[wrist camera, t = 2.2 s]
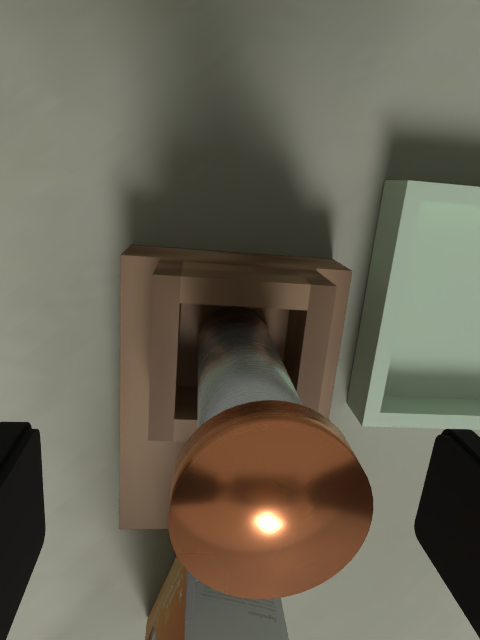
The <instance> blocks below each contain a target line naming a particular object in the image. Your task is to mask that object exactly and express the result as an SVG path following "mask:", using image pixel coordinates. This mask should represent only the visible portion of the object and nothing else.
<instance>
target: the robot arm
mask: <svg viewBox="0 0 480 640" xmlns="http://www.w3.org/2000/svg"><path fill="white" fill-rule="evenodd" d="M414 529H415V534H416V537H417V539H418V541H419V543H420V544H421V546H422V547H423V549H424V551H425V552H426V554H427V555H428V557H429V558H430V560H431V562H432V563H433V565H434V566H435V568H436V570H437V571H438V573H439V574H440V576H441V578H442V579H443V581H444V582H445V584H446V585H447V587H448V589H449V590H450V592H451V593H452V595H453V597H454V598H455V600H456V601H457V603H458V604H459V606H460V608H461V609H462V611H463V612H464V614H465V616H466V617H467V619H468V620H469V622H470V624H471V625H472V627H473V628H474V630H475V631H476V633H477V635H478V636H479V638H480V437H479V436H478V435H477V434H476V433H474V432H473V431H472V430H469V429H446V430H444V431H443V432H442V434H441V435H438V436H437V437H436V439H435V443H434V447H433V451H432V455H431V459H430V463H429V467H428V471H427V475H426V479H425V483H424V487H423V491H422V495H421V499H420V503H419V507H418V511H417V515H416V519H415V524H414ZM44 537H45V513H44V495H43V478H42V460H41V443H40V432H39V430H38V429H32V428H31V425H30V423H29V422H0V640H6V638H7V635H8V633H9V630H10V628H11V625H12V623H13V620H14V618H15V615H16V612H17V610H18V607H19V605H20V602H21V600H22V597H23V595H24V592H25V589H26V587H27V584H28V582H29V579H30V577H31V574H32V572H33V569H34V566H35V564H36V561H37V559H38V556H39V554H40V551H41V549H42V546H43V542H44Z"/></svg>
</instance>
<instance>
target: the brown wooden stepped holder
mask: <svg viewBox="0 0 480 640" xmlns="http://www.w3.org/2000/svg"><path fill="white" fill-rule="evenodd" d="M351 276H352V270H350V269H348V268H347V267H345V266H343V265H342V264H340V263H338V262H336V261H335V260H333V259H321V258H307V257H293V256H279V255H265V254H251V253H237V252H223V251H208V250H194V249H180V248H166V247H152V246H138V245H131V246H129V247H128V248H127V249H126V250H125V251H124V252H123V253H122V254H121V286H120V464H119V529H168V515H169V504H170V493H171V482H172V474H173V469H174V465H175V462H176V459H177V457H178V455H179V453H180V450H181V449H182V447H183V446H184V444H185V443H186V441H187V440H188V439H189V437H190V436H191V435H192V434H193V433H194V432H195V431H196V430H197V424H198V333H199V330H200V327H201V325H202V323H203V322H204V320H205V319H206V318H207V317H208V316H209V315H210V314H211V313H213V312H214V311H216V310H218V309H220V308H223V307H227V306H238V307H245V308H248V309H250V310H252V311H254V312H255V313H256V314H258V315H259V316H260V317H261V319H262V320H263V321H264V323H265V325H266V327H267V329H268V331H269V334H270V336H271V338H272V340H273V342H274V344H275V347H276V349H277V351H278V353H279V355H280V357H281V360H282V362H283V364H284V366H285V368H286V370H287V373H288V375H289V377H290V379H291V381H292V383H293V386H294V388H295V390H296V392H297V394H298V396H299V399H300V401H301V403H302V405H303V406H306V407H308V408H311V409H313V410H315V411H317V412H319V413H320V414H322V415H323V416H325V417H326V418H328V419H329V413H330V407H331V401H332V395H333V388H334V382H335V376H336V370H337V363H338V357H339V351H340V345H341V338H342V332H343V326H344V320H345V313H346V307H347V301H348V295H349V288H350V282H351ZM195 581H199V580H198V579H196V578H195V577H194V576H193V575H192V574H191V573H190V572H189V571H187V587H186V603H185V620H191V619H192V616H193V602H194V587H195Z"/></svg>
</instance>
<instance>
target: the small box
mask: <svg viewBox="0 0 480 640" xmlns="http://www.w3.org/2000/svg"><path fill="white" fill-rule="evenodd" d="M187 571H188V570H187V569H186V568H185V567H184V566H183V564H182V563H181V562H180V560H179V559H178V557H177V555H176V558H175V560H174V562H173V565H172V567H171V569H170V571H169V573H168V575H167V577H166V580H165V582H164V584H163V586H162V588H161V590H160V593H159V595H158V597H157V599H156V601H155V603H154V606H153V608H152V610H151V612H150V614H149V616H148V619H147V626H146V636H145V640H289V638H288V633H287V628H286V623H285V618H284V612H283V608H282V602H281V597H280V598H274V599H248V598H241V597H235V596H232V595H228V594H225V593H222V592H219V591H217V590H214V589H212V588H211V587H209V586H207V585H205V584H203V583H202V582H201V581H195V587H194V602H193V616H192V619H191V620H185V603H186V587H187Z"/></svg>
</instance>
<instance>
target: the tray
mask: <svg viewBox="0 0 480 640" xmlns="http://www.w3.org/2000/svg"><path fill="white" fill-rule="evenodd" d="M347 404H348V406H349V407H350V409H351V410H352V412H353V413H354V415H355V416H356V418H357V419H358V421H359V422H360V424H361V425H362V426H371V427H406V428H441V429H476V430H480V187H476V186H465V185H455V184H444V183H433V182H422V181H411V180H385V182H384V188H383V194H382V200H381V206H380V211H379V217H378V223H377V229H376V235H375V241H374V246H373V252H372V258H371V264H370V270H369V276H368V281H367V287H366V293H365V299H364V305H363V310H362V316H361V322H360V328H359V334H358V340H357V345H356V351H355V357H354V363H353V369H352V375H351V380H350V386H349V392H348V398H347Z"/></svg>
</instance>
